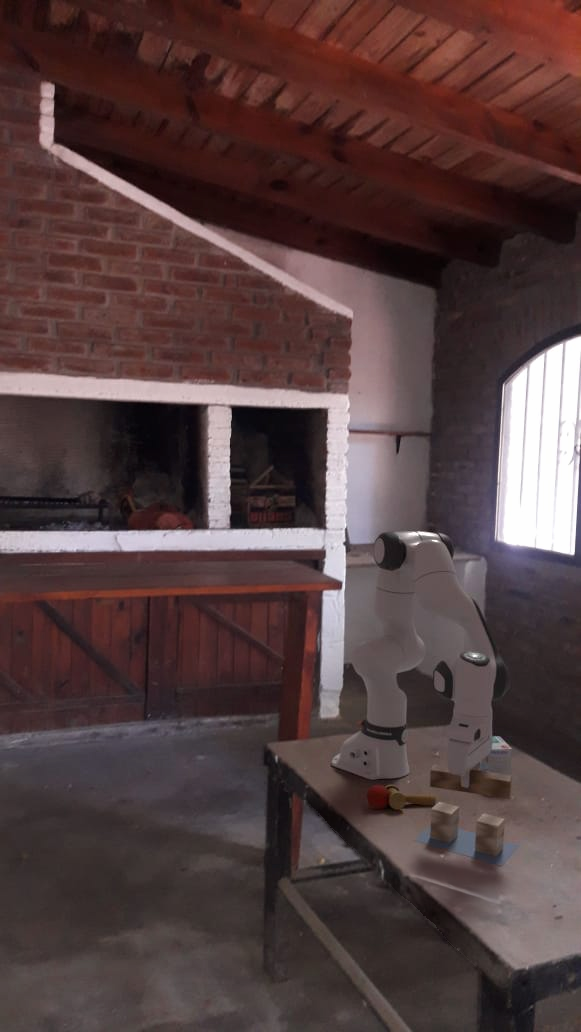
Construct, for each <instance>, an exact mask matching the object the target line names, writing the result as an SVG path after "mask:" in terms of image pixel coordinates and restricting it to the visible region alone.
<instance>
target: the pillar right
mask: <svg viewBox="0 0 581 1032" xmlns="http://www.w3.org/2000/svg"><path fill="white" fill-rule="evenodd" d="M505 821H506V819H505V818H503V817H498V816H495V815H492V814H487V813H482V815H481V816H480V817H479V818H477V820H476V821H475V822H476V823H475V824H476V825H475V833H476V839H475V851H478V852H481V853H485V854H488V855H492V856H495V857H497V855H498V854H499V853H500V852H501V850H502V849H503V844H504V842H505V838H504V837H505V824H506V823H505Z"/></svg>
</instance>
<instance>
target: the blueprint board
mask: <svg viewBox="0 0 581 1032" xmlns="http://www.w3.org/2000/svg"><path fill="white" fill-rule="evenodd" d="M430 828H431V824H430V825H429V826H428V827H427V828H426V829H425V830H424V831H422V832H421V833H420V834H419V835H418V836H417V837H416V838H415V839H414V840H413V841H415V842H418V843H422V844H425V845H428V846H432V847H435V848H438V849H441V850H445V851H448V852H452V853H454V854H459V855H463V856H466V857H469V858H472V859H475V860H479V861H483V862H486V863H489V864H492V865H495V866H499V867H504V865H505V864H506V862H507V861H508V859H510V857H511V856H512V855H513V853H514V852H515V851H516V850H517V848H518V847H519V845H518V844H515V843H511V842H507V841H504V844H503V849H502V850H501V852H500V853H499V854H498V855H497V857H495V856H492V855H488V854H485V853H481V852H478V851H475V839H476V832H471V831H468V830H464V829H461V828H458V836H457V837H456V838H455V839H454V840H453V841H452V842H451V843H447V842H444V841H440V840H437V839H433V838H430Z"/></svg>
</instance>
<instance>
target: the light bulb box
mask: <svg viewBox="0 0 581 1032" xmlns="http://www.w3.org/2000/svg"><path fill="white" fill-rule="evenodd" d="M512 754H513V748H512V747H510V745H509V744H508V743H507V742H506V741H505V740H504V739H503V738H502V737H501V736H498V735H497V736H496V735H495V736H493V735H492V750H491V752H490V753H489V754H488V755H487V756H486V757H485V758H483V759H482V764H481V768H480V771H484V772H491V773H498V774H505V775H512V774H511V772H512V771H511V769H512V756H513V755H512Z"/></svg>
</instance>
